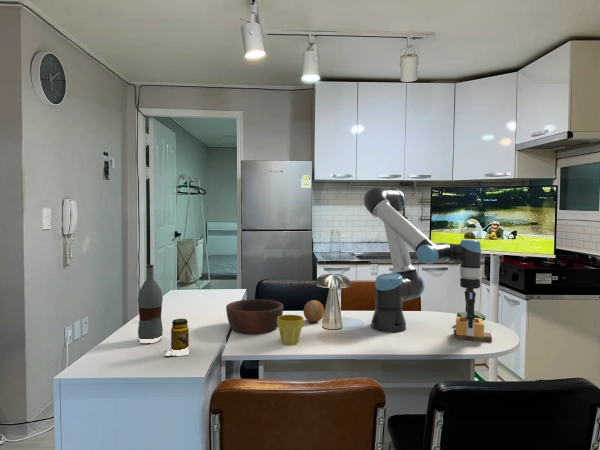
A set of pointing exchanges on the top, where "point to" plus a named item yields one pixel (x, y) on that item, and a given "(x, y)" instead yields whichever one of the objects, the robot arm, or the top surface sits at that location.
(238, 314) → the wooden bowl
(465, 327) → the orange hollow square frame
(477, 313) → the clamp
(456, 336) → the brown block with peg
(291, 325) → the plant pot
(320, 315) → the brown oval piece
